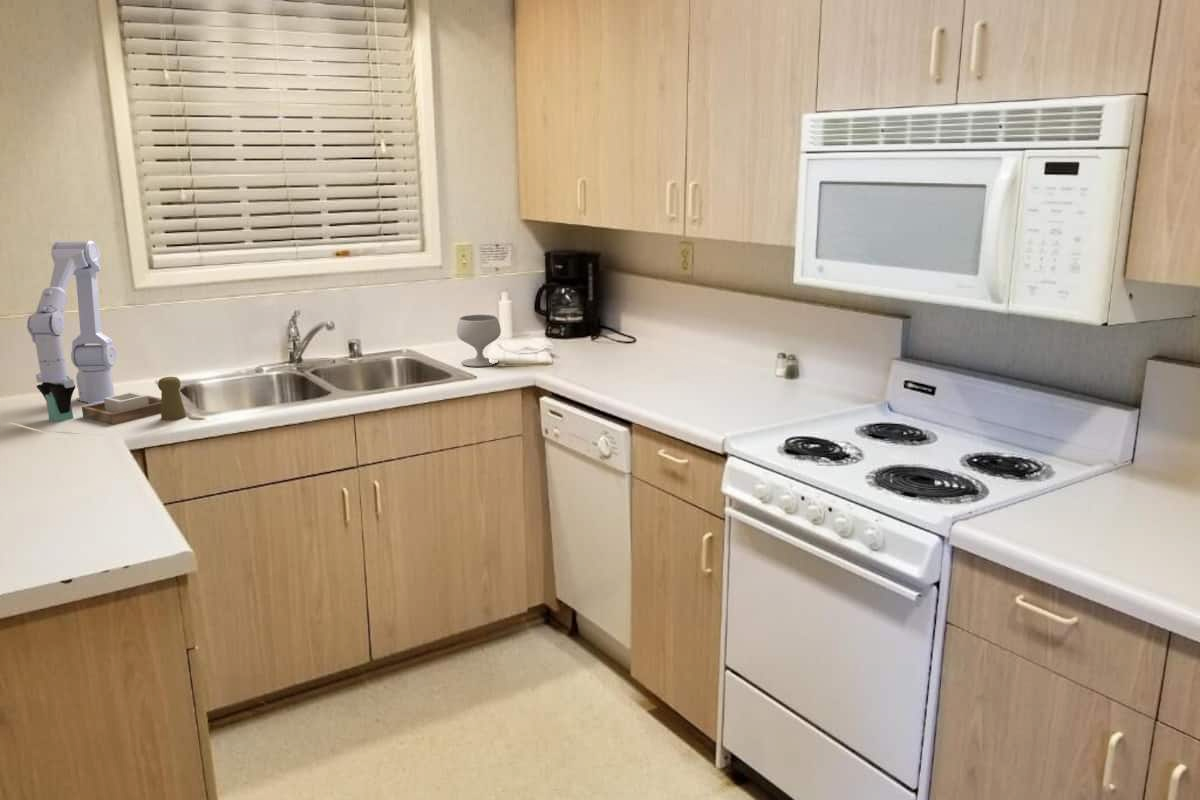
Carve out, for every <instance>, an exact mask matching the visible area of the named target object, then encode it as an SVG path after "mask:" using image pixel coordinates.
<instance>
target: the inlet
mask: <svg viewBox="0 0 1200 800" xmlns="http://www.w3.org/2000/svg"><path fill="white" fill-rule="evenodd" d="M115 395H116V396H111V397H107V398H104V404H105V410H106V412H110V413H117V412H121V411H125V410H129V409H133V408H138V407H142V406H146V405H149V403H148V396H149V395H147V394H143V395H142V394H141V393H138V392H132V391H130V392H125V393H121V394H115Z"/></svg>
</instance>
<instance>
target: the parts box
mask: <svg viewBox="0 0 1200 800" xmlns="http://www.w3.org/2000/svg"><path fill="white" fill-rule="evenodd" d="M142 395H144V394H142ZM147 396H148V403H149V405H146V406H142V407H138V408H133V409H129V410H125V411H121V412H117V413H110V412H106V410H105V404H104V402H100V403H95V404H89V405H86V406H82V407H81V411H82V412H81V413H82V418H84V419H85V418H86V419H89V420H93V421H96V422H97V421H98V422H101V423H104V424H108V425H112V426H115V425H118V424H122V423H127V422H130V421H134V420H138V419H143V418H147V417H150V416H155V415H159V414H161V397H156V396H151V395H147Z"/></svg>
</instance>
